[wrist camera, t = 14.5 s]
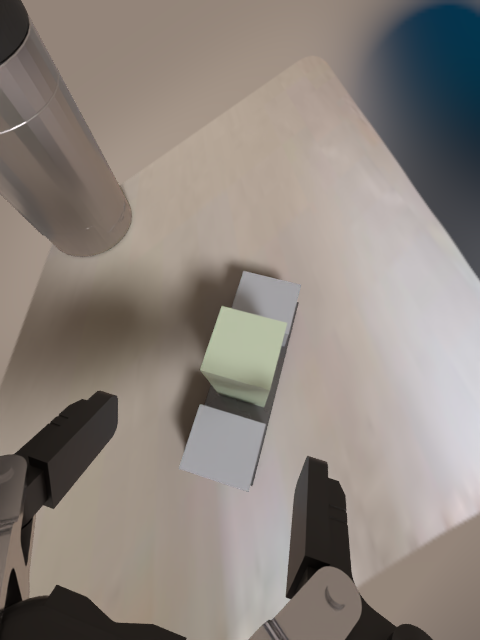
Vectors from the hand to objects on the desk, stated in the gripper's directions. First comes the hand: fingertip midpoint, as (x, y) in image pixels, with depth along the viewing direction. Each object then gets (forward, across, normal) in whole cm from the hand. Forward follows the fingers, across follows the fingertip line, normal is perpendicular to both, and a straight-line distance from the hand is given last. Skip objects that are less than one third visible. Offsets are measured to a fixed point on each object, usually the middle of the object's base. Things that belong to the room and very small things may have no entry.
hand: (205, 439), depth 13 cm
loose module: (+13, 0, +6) cm, 15 cm away
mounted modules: (+14, 0, +7) cm, 16 cm away
